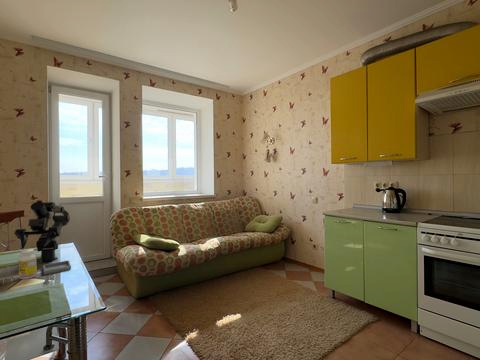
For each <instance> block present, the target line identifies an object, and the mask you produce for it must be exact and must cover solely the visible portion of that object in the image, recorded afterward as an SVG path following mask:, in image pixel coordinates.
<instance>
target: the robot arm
mask: <svg viewBox="0 0 480 360" xmlns="http://www.w3.org/2000/svg"><path fill="white" fill-rule="evenodd" d="M30 209H31V211H32V212H33V214H34V216H35V217H36V218H31V219H29V220H28V225H27V226H28V227H30V229H29V230H27V229H26V228H17V229H15V230H14V232H13V234H14V235H15V237H16V238H17V239H18V240H20V243H21V249H24V248H25V246H26V245H27V242H28V240H29V239H28V238H29V236H31V235H38V236H39V235H40V236H39V237H38V239H37V241H36V250H37V252H41V253H40V260H39V261H38V263H51V262H53V261H55V260H57V259H59V258H58V257H56V250H58V249H59V243H58V241H57V240H56V238H57V237H60V235H61V229H62V228H63V227H64V226H67V225H68V224H69V223H70V222H71V221H70V220H71V218H70V214H69V212H68V211H67V210H65V207H64V206H62V205H61V206H60V205H56V202H54V201H48V202H46V201H44V202H43V200H40V199H39V200H36V202H33V203H32V204H31V205H30ZM51 213H53V215H52V217H51ZM60 213H61V214H60ZM56 214H60V215H56ZM51 219H52V222H53V224H52V226H49V225H48V224H49V223H50V222H49V221H50V220H51ZM47 228H48V229H47Z"/></svg>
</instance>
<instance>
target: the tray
mask: <svg viewBox="0 0 480 360" xmlns="http://www.w3.org/2000/svg"><path fill="white" fill-rule="evenodd" d="M68 269H71V270H72V265H71V263H70V260H68V259H67V260H63V261H57V262H52V263H51V262H50V263H47V264H43V275H44V276H46V275H49V274H50V275H51V274H55V273H61V272H64V271H63V270H66V271H69V270H68ZM60 271H61V272H60Z"/></svg>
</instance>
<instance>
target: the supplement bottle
mask: <svg viewBox="0 0 480 360" xmlns="http://www.w3.org/2000/svg"><path fill="white" fill-rule="evenodd" d="M34 250H35V249H32V248H30V249H29V248H27V249H24V250H23V249H22V250H21V251H20V256H19V258H18V278H19V279H20V280H28V279H31V278H35V277H36V276H37V275H38V272H37V268H38V267H37V255H36V254H34V253H35V252H34Z"/></svg>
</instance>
